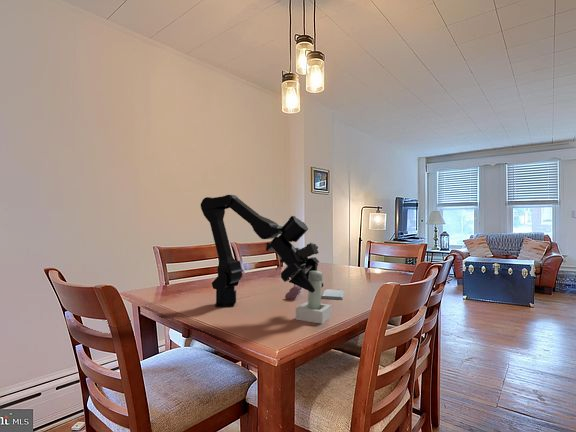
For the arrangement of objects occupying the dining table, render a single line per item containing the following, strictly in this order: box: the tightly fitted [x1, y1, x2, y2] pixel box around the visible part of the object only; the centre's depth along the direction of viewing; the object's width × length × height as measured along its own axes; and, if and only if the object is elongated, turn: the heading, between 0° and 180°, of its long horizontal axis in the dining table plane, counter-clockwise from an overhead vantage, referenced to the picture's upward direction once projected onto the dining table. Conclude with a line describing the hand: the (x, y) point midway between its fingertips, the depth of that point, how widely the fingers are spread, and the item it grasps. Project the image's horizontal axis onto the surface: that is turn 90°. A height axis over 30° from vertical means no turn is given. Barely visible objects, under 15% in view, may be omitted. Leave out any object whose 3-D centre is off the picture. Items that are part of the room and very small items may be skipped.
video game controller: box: [285, 284, 303, 300], centre depth 128 cm, size 10×5×7 cm, turn 169°
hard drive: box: [321, 288, 346, 301], centre depth 130 cm, size 2×8×12 cm
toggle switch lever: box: [307, 270, 323, 310], centre depth 101 cm, size 4×4×13 cm
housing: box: [295, 301, 333, 325], centre depth 101 cm, size 9×9×4 cm
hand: (318, 289), depth 100 cm, fingers open, 7 cm apart
